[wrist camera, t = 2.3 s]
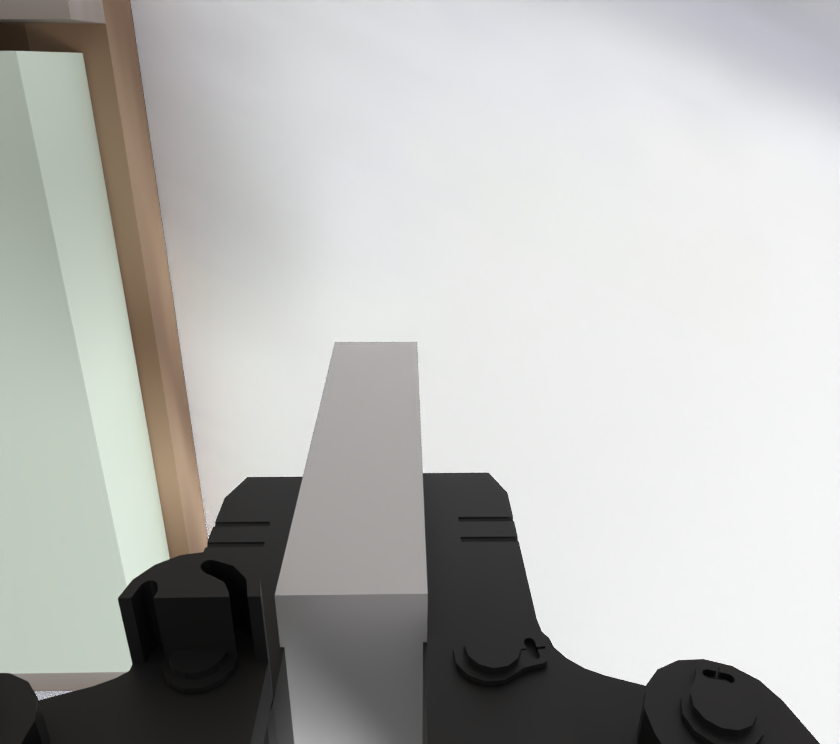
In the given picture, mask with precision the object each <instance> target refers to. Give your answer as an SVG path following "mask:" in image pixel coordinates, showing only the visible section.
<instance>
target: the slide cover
mask: <svg viewBox="0 0 840 744" xmlns="http://www.w3.org/2000/svg"><path fill="white" fill-rule="evenodd" d="M169 559H170V557H169V551H168V545H167V539H166V533H165V528H164V522H163V516H162V510H161V504H160V499H159V493H158V487H157V481H156V475H155V470H154V464H153V458H152V452H151V446H150V441H149V435H148V429H147V423H146V417H145V412H144V406H143V400H142V394H141V389H140V383H139V377H138V371H137V365H136V360H135V354H134V348H133V342H132V336H131V331H130V325H129V319H128V313H127V307H126V302H125V296H124V290H123V284H122V278H121V273H120V267H119V261H118V255H117V249H116V244H115V238H114V232H113V226H112V220H111V215H110V209H109V203H108V197H107V191H106V186H105V180H104V174H103V168H102V162H101V157H100V151H99V145H98V139H97V133H96V128H95V122H94V116H93V110H92V104H91V99H90V93H89V87H88V81H87V76H86V70H85V64H84V58H83V53H71V52H37V51H0V673H10V674H23V673H92V672H128V671H130V668H131V666H132V660H131V656H130V651H129V647H128V642H127V638H126V634H125V629H124V625H123V620H122V616H121V611H120V607H119V602H118V597H119V596H120V595H121V594H122V592H123V591H124V590H125V589H126V587H127V586H128V585H129V584H130V582H131V581H132V580H133V579H134V578H136V577H137V576H139V575H140V574H142V573H143V572H145V571H146V570H148V569H149V568H151V567H152V566H154V565H155V564H158V563H161V562H163V561H166V560H169Z"/></svg>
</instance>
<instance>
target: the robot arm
mask: <svg viewBox="0 0 840 744" xmlns="http://www.w3.org/2000/svg"><path fill="white" fill-rule="evenodd" d="M118 602H119V607H120V611H121V616H122V620H123V625H124V629H125V634H126V638H127V642H128V647H129V651H130V656H131V660H132V666H131V668H130V671H128V672H126V673H124V674H122V675H121V676H119V677H117V678H115V679H112V680H109V681H106V682H103V683H100V684H98V685H95V686H91V687H88V688H84V689H80V690H77V691H73V692H69V693H66V694H62V695H58V696H55V697H51V698H47V699H43V700H40V701H38V698H37V696H36V694H35V693H34V691H33V689H32V687H31V685H30V684H29V682H28V681H26V680H23V679H21V678H19V677H17V676H15V675H13V674H10V673H0V744H820V743H819V742H818V741H817V740H816V739H815V738H814V737H813V735H812V734H811V733H810V732H809V731H808V730H807V728H806V727H805V726H804V725H803V724H802V723H801V722H800V720H799V719H798V718H797V717H796V716H795V715H794V713H793V712H792V711H791V710H790V709H789V708H788V707H787V705H786V704H785V703H784V702H783V701H782V700H781V699H780V698H779V697H778V696H776V695H775V694H774V693H773V692H772V691H771V690H770V689H768V688H767V687H766V686H765V685H764V684H763V683H762V682H761V681H759V680H758V679H756V678H754V677H752V676H750V675H748V674H746V673H744V672H742V671H740V670H738V669H736V668H734V667H733V666H729V665H725V664H721V663H717V662H713V661H709V660H705V659H698V660H678V661H676V662H673V663H671V664H669V665H667V666H665V667H662V668H660V669H658V670H657V671H656V673H655V674H654V675H653V677H652V678H651V679H650V681H649V682H648V684H647V685H646V686H643V685H640V684H636V683H632V682H628V681H624V680H620V679H616V678H612V677H608V676H604V675H602V674H599V673H596V672H593V671H590V670H587V669H585V668H583V667H581V666H579V665H577V664H576V663H574V662H572V661H570V660H569V659H567V658H566V657H564V656H563V655H562V654H561V653H560V652H559V651H557V650H556V649H555V648H554V647H553V645H552V643H551V641H550V639H549V638H548V637H547V636H546V635H545V634H544V633H543V632H542V631H541V629H540V626H539V624H538V621H537V619H536V615H535V611H534V606H533V602H532V598H531V593H530V589H529V585H528V580H527V576H526V572H525V567H524V563H523V559H522V554H521V550H520V546H519V542H518V541H517V533H516V528H515V524H514V521H513V515H512V511H511V507H510V502H509V498H508V494H507V492H506V491H505V490H504V489H503V488H502V487H501V486H500V485H499V483H498V482H497V481H496V480H495V479H494V478H493V477H492V476H491V475H490V474H489V473H423V471H422V447H421V424H420V400H419V376H418V352H417V342H335V344H334V348H333V353H332V357H331V361H330V365H329V369H328V374H327V378H326V382H325V386H324V390H323V395H322V399H321V403H320V407H319V411H318V416H317V420H316V424H315V428H314V432H313V436H312V441H311V445H310V449H309V453H308V457H307V462H306V466H305V470H304V474H303V477H247V478H246V479H245V480H244V481H243V482H242V483H241V484H240V485H239V486H237V487H236V488H235V489H234V490H233V491H232V492H231V493H230V494H229V495H228V496H227V497H225V499H224V502H223V504H222V507H221V509H220V512H219V514H218V517H217V519H216V522H215V527H213V529H212V532H211V534H210V537H209V539H208V542H207V548H205V549H204V552H200V553H192V554H185V555H179V556H177V557H174V558H171V559H169V560H166V561H163V562H161V563H158V564H155V565H154V566H152V567H151V568H149V569H148V570H146V571H145V572H143V573H142V574H140V575H139V576H137V577H136V578H134V579H133V580H132V581H131V582H130V584H129V585H128V586H127V587H126V589H125V590H124V591H123V592H122V594H121V595H120V596H119V597H118Z"/></svg>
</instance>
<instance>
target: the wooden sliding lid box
mask: <svg viewBox="0 0 840 744" xmlns="http://www.w3.org/2000/svg"><path fill="white" fill-rule="evenodd" d="M0 51H37V52H71V53H83V58H84V64H85V70H86V76H87V81H88V87H89V93H90V99H91V104H92V110H93V116H94V122H95V128H96V133H97V139H98V145H99V151H100V157H101V162H102V168H103V174H104V180H105V186H106V191H107V197H108V203H109V209H110V215H111V220H112V226H113V232H114V238H115V244H116V249H117V255H118V261H119V267H120V273H121V278H122V284H123V290H124V296H125V302H126V307H127V313H128V319H129V325H130V331H131V336H132V342H133V348H134V354H135V360H136V365H137V371H138V377H139V383H140V389H141V394H142V400H143V406H144V412H145V417H146V423H147V429H148V435H149V441H150V446H151V452H152V458H153V464H154V470H155V475H156V481H157V487H158V493H159V499H160V504H161V510H162V516H163V522H164V528H165V533H166V539H167V545H168V551H169V557H170V559H171V558H174V557H177V556H179V555H185V554H192V553H200V552H204V549H205V548H207V542H208V538H207V531H206V524H205V518H204V511H203V504H202V497H201V490H200V483H199V476H198V469H197V462H196V455H195V448H194V441H193V434H192V427H191V420H190V413H189V406H188V400H187V393H186V386H185V379H184V372H183V365H182V358H181V351H180V344H179V337H178V330H177V323H176V316H175V309H174V302H173V295H172V289H171V282H170V275H169V268H168V261H167V254H166V247H165V240H164V233H163V226H162V219H161V212H160V205H159V198H158V191H157V184H156V178H155V171H154V164H153V157H152V150H151V143H150V136H149V129H148V122H147V115H146V108H145V101H144V94H143V87H142V80H141V73H140V67H139V60H138V53H137V46H136V39H135V32H134V25H133V18H132V11H131V4H130V0H0ZM124 673H126V672H92V673H23V674H13V675H15V676H17V677H19V678H21V679H23V680H26V681H28V682H29V684H30V685H31V687H32V689H33V691H75V690H80V689H84V688H88V687H91V686H95V685H98V684H100V683H103V682H106V681H109V680H112V679H115V678H117V677H119V676H121V675H122V674H124Z"/></svg>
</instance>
